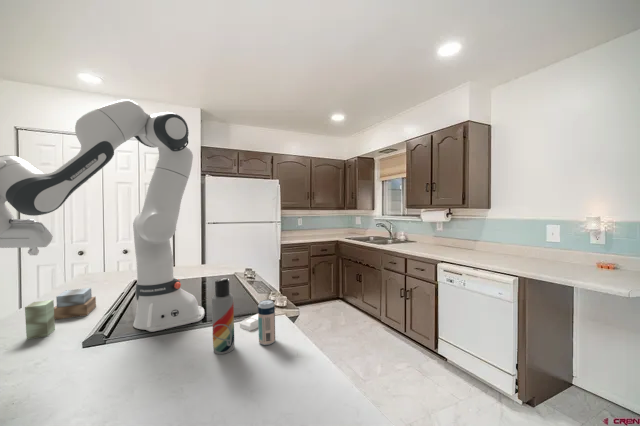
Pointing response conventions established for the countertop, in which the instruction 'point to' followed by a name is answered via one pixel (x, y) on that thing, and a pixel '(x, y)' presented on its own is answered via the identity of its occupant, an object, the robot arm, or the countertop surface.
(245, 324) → the soap bar
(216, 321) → the lotion bottle
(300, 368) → the countertop surface
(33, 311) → the green brick
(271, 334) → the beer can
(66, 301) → the pedestal
